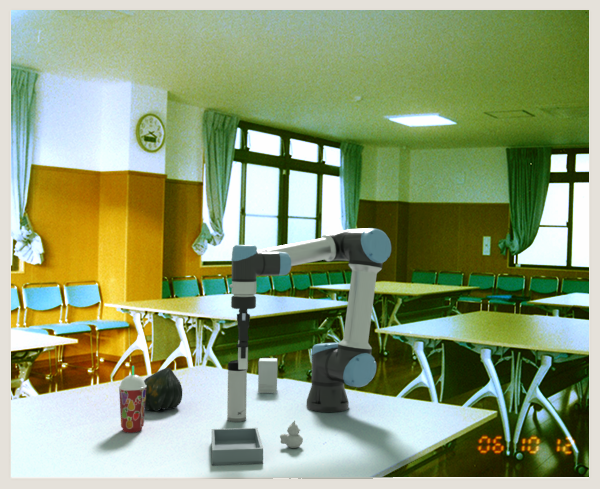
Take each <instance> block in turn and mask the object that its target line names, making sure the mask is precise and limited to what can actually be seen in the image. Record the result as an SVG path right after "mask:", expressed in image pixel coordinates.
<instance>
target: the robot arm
mask: <svg viewBox="0 0 600 489" xmlns="http://www.w3.org/2000/svg"><path fill="white" fill-rule="evenodd" d="M257 248H258V247H257V246H256V245H254V244H253V245H252V244H247V245H246V244H245V245H244V244H235V245H234V246H233V247H232V253H231V284H229V288H231V295H232V296H231V299H230V300H231V301H230V304H231V305H230V307H231V308H232V309H235V310H238V313H236V321H237V329H238V334H237V335H238V341H237V342H238V343H237V344H236V348H238V351H237V360H238V369H247V370H249V369H248V367H249V366H248V365H249V364H248V363H249V359H248V357H249V343H248V341H249V339H250V338H249V336H248V335H249V333H248V332H249V328H250V320H251V314H250V313H248V310H253V309H256V307H257V297H256V295H257V277H258V276H259V277H260V276H262V277H263V276H264V277H265V276H272V277H273V276H275V277H276V276H278V277H279V276H286V275H288V274H289V273H290V271H291V269H292V267H293V266H298V265H302V264H303V265H304V264H308V263H313V262H318V261H322V260H323V261H326V262H333V261H347V262H348V267H349V268H350V270H351V276H350V284H349V292H348V300H347V306H346V307H347V308H346V315H345V324H344V330H343V336H342V337H343V339H342V340H341V341H339V342H324V343H317V344H314V345H313V346H312V350H311V354H310V355H311V386H310V389H309V391H308V395H307V399H306V408H307V410H308V409H309V410H311V411H315V412H321V413H322V412H323V413H338V412H344V411H347V410H348V409H349V398H348V395H347V392H346V389H345V385H347V386H349V387H354V388H355V387H356V388H361V387H365V386H367V385H368V384H369V383H370V382H371V381H372V380H373V378H374V377H375V375H376V372H377V362H376V360H375V357H374V356H373V355H372V349H373V348H372V346H371V345H370V343H369V338H370V337H369V336H370V330H371V322H372V314H373V307H374V305H373V304H374V298H375V292H376V291H375V289H376V281H377V274H378V273H379V272H380V271H381V270H382V269H383V263H384V262H386V261H387V260H388V258H390V256H391V253H392V243H391V240H390V238H389V237H388V235H387V234H386V232H384V231H383V230H382V229H379V228H373V227H368V228H348V229H344V230H340V231H337V232H332V233H329V234H323V235H322V236H321V237H320V238H316V239H311V240H305V241H300V242H295V243H289V244H288V243H287V244H283V245H282V244H281V245H278V246H277V245H276V246H272V247H271V246H270V247H267V248H261V249H257Z"/></svg>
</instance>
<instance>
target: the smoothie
mask: <svg viewBox="0 0 600 489" xmlns="http://www.w3.org/2000/svg"><path fill="white" fill-rule="evenodd" d="M144 380H145V379H143V377H142V376H140V375H138V374H135V365H132V366H131V374H129V375H127V376H125V377H124V378H123V380H121V382H120V385H119V386H118V390H119V410H120V411H119V413H120V426H121V428H122V431H123V432H124V433H127V432H128V434H129V433H130V434H131V433H133V432H134V433H137V432H138V433H139V432H140V431H142V429H143V427H144V424H145V411H146V409H145V399H146V387H147V385H145V382H144Z"/></svg>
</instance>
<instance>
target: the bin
mask: <svg viewBox="0 0 600 489" xmlns="http://www.w3.org/2000/svg"><path fill="white" fill-rule="evenodd" d="M262 443H263V442H262V439H261V435H260V432H259V429H258V427H243V428H242V427H236V428H212V429H211V463H212V464H211V465H212V466H231V465H237V466H238V465H260V464H262V465H263V464H264V447H263V444H262Z"/></svg>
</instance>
